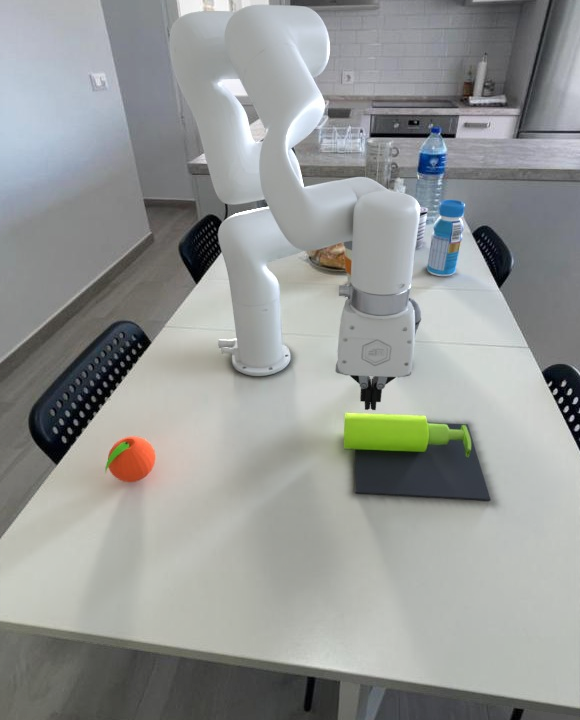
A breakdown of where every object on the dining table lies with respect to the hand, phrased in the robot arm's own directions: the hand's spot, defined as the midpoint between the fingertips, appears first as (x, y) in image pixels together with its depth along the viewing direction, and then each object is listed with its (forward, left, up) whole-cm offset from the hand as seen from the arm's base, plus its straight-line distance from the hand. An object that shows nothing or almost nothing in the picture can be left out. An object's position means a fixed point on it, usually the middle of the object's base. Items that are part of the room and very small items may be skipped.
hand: (369, 403), depth 68 cm
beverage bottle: (+24, +74, -11) cm, 79 cm away
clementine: (-37, -7, -11) cm, 39 cm away
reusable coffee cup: (+1, +63, -11) cm, 64 cm away
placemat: (+8, 0, -11) cm, 14 cm away
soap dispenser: (-4, +2, -8) cm, 9 cm away
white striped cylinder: (+16, +96, -11) cm, 98 cm away
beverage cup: (+7, +26, -11) cm, 29 cm away
